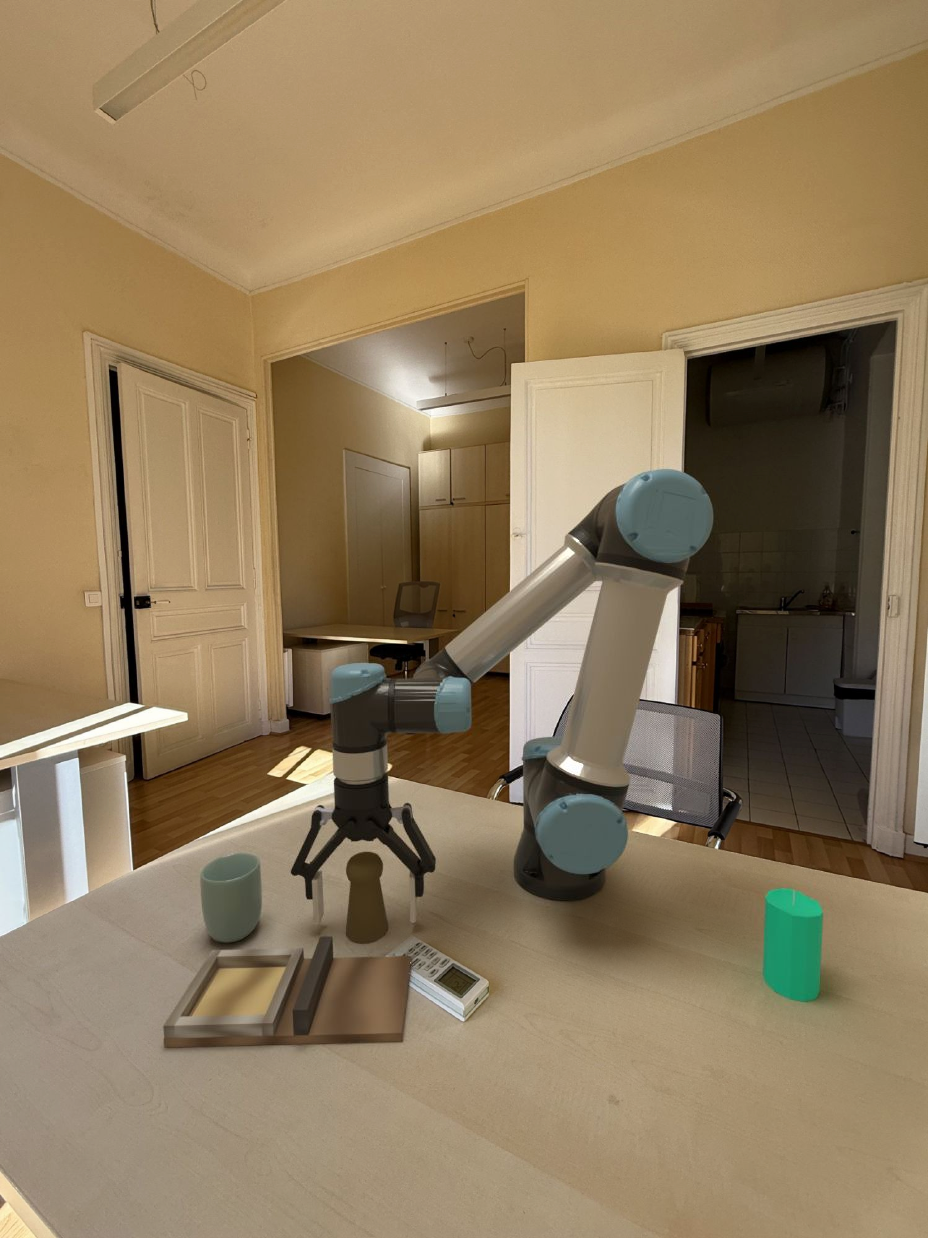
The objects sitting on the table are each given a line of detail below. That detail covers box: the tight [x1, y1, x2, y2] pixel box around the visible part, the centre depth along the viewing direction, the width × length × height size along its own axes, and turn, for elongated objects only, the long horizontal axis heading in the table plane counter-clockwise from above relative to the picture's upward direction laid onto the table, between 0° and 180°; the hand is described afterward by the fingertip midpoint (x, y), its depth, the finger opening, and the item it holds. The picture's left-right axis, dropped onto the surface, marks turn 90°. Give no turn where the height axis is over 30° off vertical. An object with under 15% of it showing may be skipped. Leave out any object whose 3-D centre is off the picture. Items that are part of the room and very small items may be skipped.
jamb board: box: [162, 935, 412, 1048], centre depth 66 cm, size 26×12×4 cm, turn 90°
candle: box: [762, 887, 824, 1003], centre depth 67 cm, size 6×6×12 cm
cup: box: [199, 852, 263, 944], centre depth 79 cm, size 8×8×10 cm
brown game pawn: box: [345, 851, 389, 945], centre depth 79 cm, size 6×6×11 cm
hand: (366, 918), depth 79 cm, fingers open, 13 cm apart
